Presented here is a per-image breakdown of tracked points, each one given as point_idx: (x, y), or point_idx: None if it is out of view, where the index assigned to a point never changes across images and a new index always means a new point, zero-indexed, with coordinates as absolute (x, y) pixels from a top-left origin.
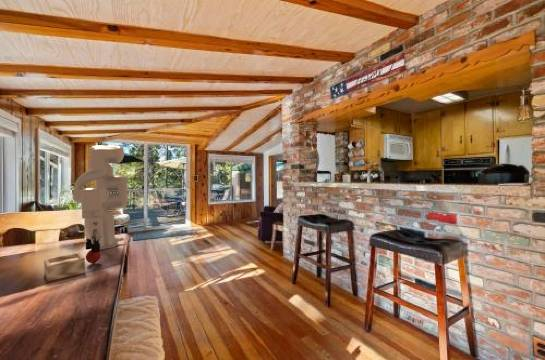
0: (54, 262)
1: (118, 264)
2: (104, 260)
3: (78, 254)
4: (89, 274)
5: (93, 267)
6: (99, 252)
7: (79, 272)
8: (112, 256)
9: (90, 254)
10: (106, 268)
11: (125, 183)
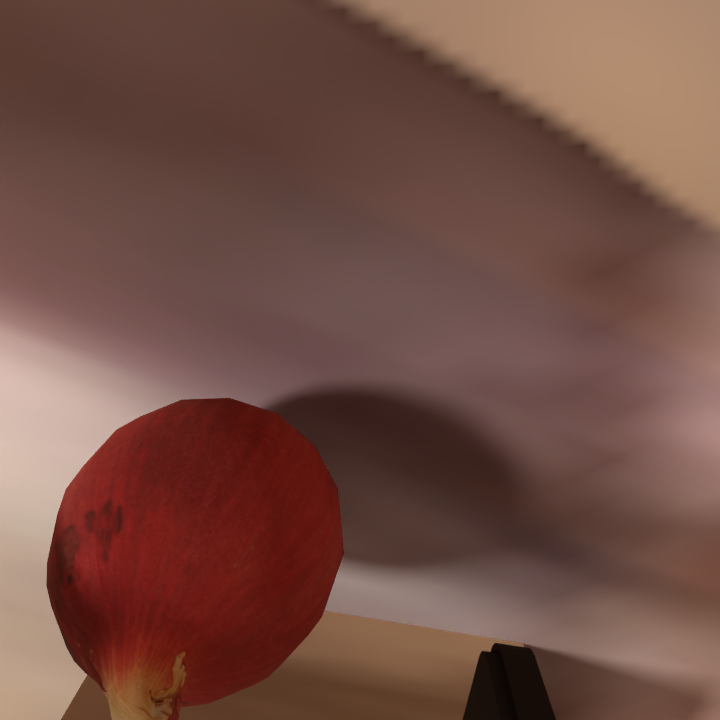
0: None
1: (681, 244)
2: (189, 269)
3: None
4: (670, 648)
5: (422, 518)
6: (253, 487)
7: None
8: (29, 42)
9: (278, 666)
10: (669, 443)
11: None
